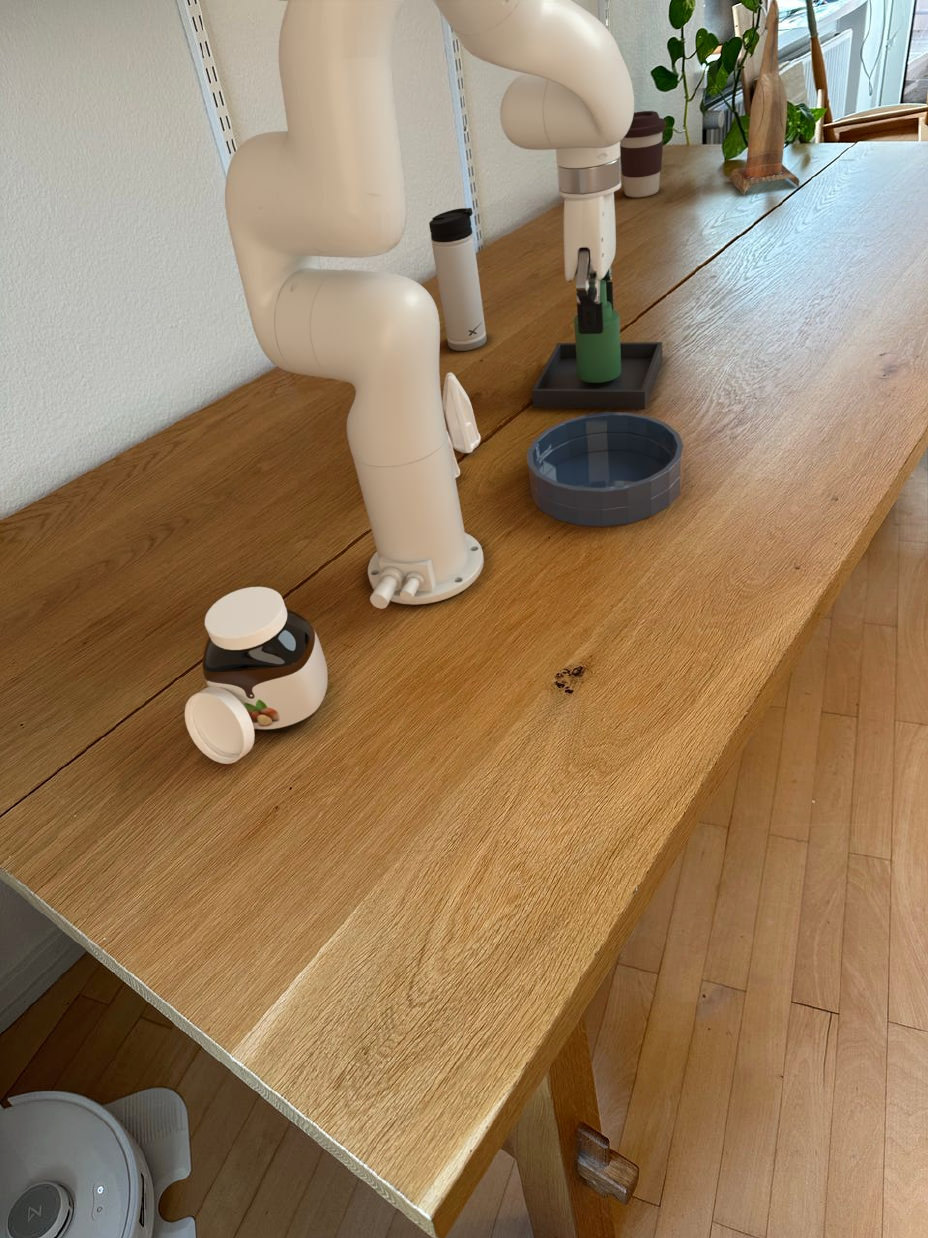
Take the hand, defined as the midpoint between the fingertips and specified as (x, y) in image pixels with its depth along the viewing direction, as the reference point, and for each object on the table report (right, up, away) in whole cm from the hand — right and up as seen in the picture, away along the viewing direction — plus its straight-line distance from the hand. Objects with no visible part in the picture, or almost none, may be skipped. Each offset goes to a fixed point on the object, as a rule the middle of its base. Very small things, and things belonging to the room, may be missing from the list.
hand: (596, 320), depth 116 cm
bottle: (+1, -6, +5) cm, 7 cm away
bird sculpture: (+44, +50, +63) cm, 92 cm away
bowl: (-1, -24, -14) cm, 28 cm away
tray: (+1, -7, +6) cm, 9 cm away
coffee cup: (+21, +52, +72) cm, 91 cm away
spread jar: (-36, -49, -36) cm, 71 cm away
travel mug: (-17, +4, +24) cm, 29 cm away
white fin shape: (-19, -20, -5) cm, 28 cm away
